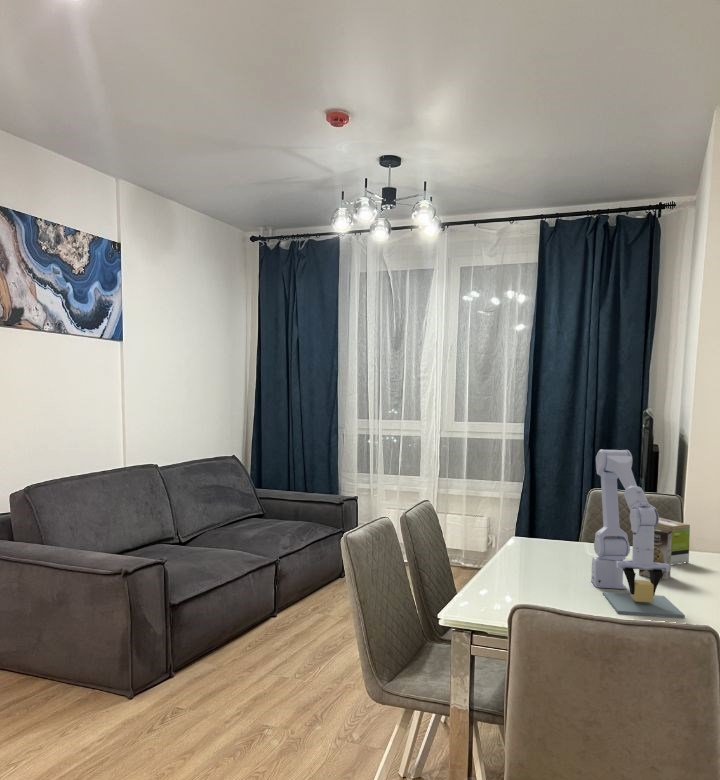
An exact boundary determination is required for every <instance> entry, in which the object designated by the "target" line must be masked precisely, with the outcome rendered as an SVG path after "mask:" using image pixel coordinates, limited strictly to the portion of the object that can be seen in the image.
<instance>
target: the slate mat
mask: <svg viewBox="0 0 720 780" xmlns="http://www.w3.org/2000/svg"><path fill="white" fill-rule="evenodd" d="M602 596H603V597H604V596H605V597H604V598H605V599H606V601H607V600H608V601H607V602H608V603H609V604H610V606H611V605H612V606H611V607H612V608H613V609H615V610H614V611H615V612H616V613H617V615H618V614H619V615H633V616H646V617H647V616H649V617H662V618H664V617H665V618H675V619H679V618H680V619H685V618H686V616H685V614H684V612H682V611H681V610H680V609H679V608H678V607H677V606H675V604H673V603H672V602H671V601H670V600H669V599H668V598H667V597H666V596H665V595H660V594H659V595H658V594H657V595H656V594H655V595H654V596H653V602H638V601H635V600H634V599H633V598H632V597H631V593H626V592H625V593H624V592H612V591H611V592H610V591H609V592H608V591H603V592H602Z"/></svg>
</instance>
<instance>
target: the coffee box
mask: <svg viewBox="0 0 720 780" xmlns="http://www.w3.org/2000/svg"><path fill="white" fill-rule="evenodd" d="M671 545H672V531H671V530H665V529H658V528H654V559H653V562H657V563H667V564H669V565H670V572H666V571H662V572H663V577H662V578H661V580H664V581H667V580H668V579H670V578H671V573H672V571H671V568H672V567H671V566H672V565H671ZM642 575H643V577H647V576H648V578H650V571H649V570H641V569H638V576H642Z"/></svg>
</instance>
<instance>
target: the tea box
mask: <svg viewBox="0 0 720 780" xmlns="http://www.w3.org/2000/svg"><path fill="white" fill-rule="evenodd" d="M690 526H691V524H688V523H684V522H680V521H675V520H673V519H672V520H671V519H667V518H664V517H663V518H662V517H659V522H658V525H657V526H656V527H654V528H658V529H665V530H671V531H672V545H671V564H676V565H679V564H678V563H684V562H688V563H690V562H689V560H690V535H691V534H690V532H691V530H690V528H691V527H690ZM684 564H685V563H684Z"/></svg>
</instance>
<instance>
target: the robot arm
mask: <svg viewBox="0 0 720 780" xmlns="http://www.w3.org/2000/svg"><path fill="white" fill-rule="evenodd" d="M632 467H633V455H632V453H631V451H630V450H628V449H621V450H619V449H602V448H601V449H599V450H598V452H597V454H596V456H595V469H596V474H597V475H598V476H599V477H600V486H601V506H602V522H603V523H602V524H603V527H601V528H600V529H599V530H598V531H596V532H595V533H594V541H593V548H594V552H595V554H596V556H593V557H592V561H591V579H590V581H591V582H592V584H593V585H594V587H596V588H601V589H602V588H603V589H621V590H627V588H628V589H629V594H633V595H634V582H635V580H636V572H635V570H639V569H641V570H649V571H650V577H649V581H650V582H651V583H652V584H653V585H654V595H656V590H657V587H658V585H659V583H660V581H661V580H662V579H661V578H662V577H663V572H662V571H666V572H670V565H669V564H667V563H657V562H653V559H654V527H656V526H657V525H658V522H659V518H660V516H659V513H658V512H659V511H658V509H657V508H656V507H655V506H653V504H650V503H649V501H648V499H647V496H646V494H645V492H644V490H643V488H642V487H640V486H638V485H637V482H636V479H635V476H634V472H633V470H632ZM618 479H619V481H620V483H621V485H622V486H623V488H624V492H623V497H624V499H625V502H626V503H627V506H628V509H629V511H630V512H629V522H630V526H631V527H630V529H631V532H632V559H631V560H626V558H627V557H629V554H630V552H631V545H630V542H629V537H628V534H627V532H626V531H624V530H623V529H622V528H621V526H620V510H619V493H618V491H619V490H618ZM670 573H671V572H670ZM624 575H625V577H626V580H627V584H628V587H627V586H626V585H625V584H624ZM654 595H653V596H654Z"/></svg>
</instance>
